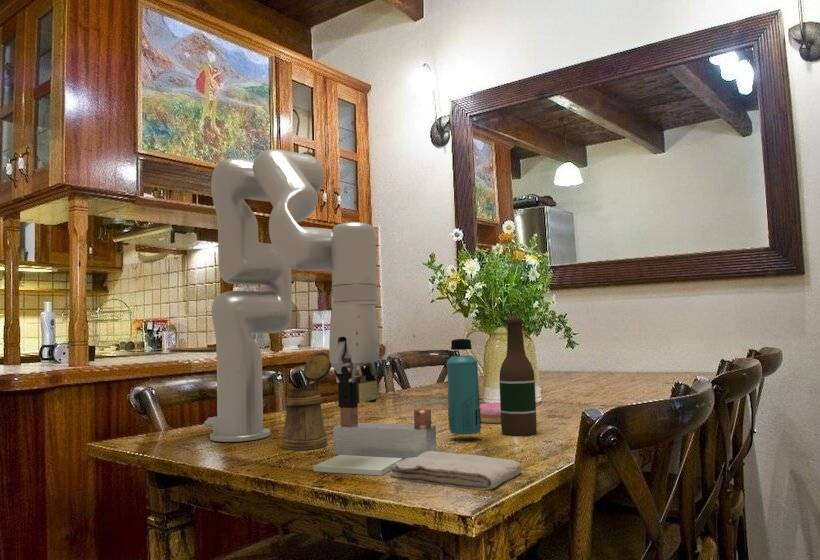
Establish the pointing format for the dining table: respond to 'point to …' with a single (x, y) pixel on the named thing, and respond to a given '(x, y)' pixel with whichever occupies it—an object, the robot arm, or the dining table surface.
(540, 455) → the dining table surface
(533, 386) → the beer bottle
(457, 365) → the beverage bottle
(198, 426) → the dining table surface
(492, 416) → the doughnut
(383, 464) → the mat
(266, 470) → the dining table surface
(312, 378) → the wooden utensil holder
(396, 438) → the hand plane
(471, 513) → the dining table surface
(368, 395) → the beige block
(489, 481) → the washcloth
